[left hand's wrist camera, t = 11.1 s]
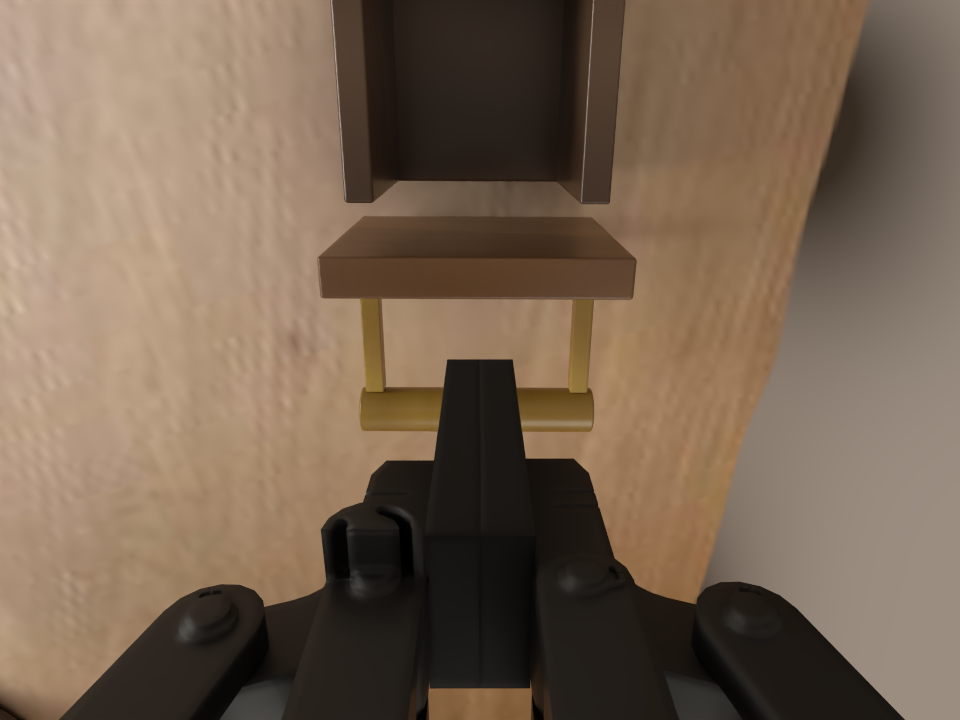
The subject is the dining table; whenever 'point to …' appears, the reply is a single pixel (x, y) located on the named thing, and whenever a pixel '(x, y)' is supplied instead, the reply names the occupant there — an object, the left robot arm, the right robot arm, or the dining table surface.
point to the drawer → (477, 173)
